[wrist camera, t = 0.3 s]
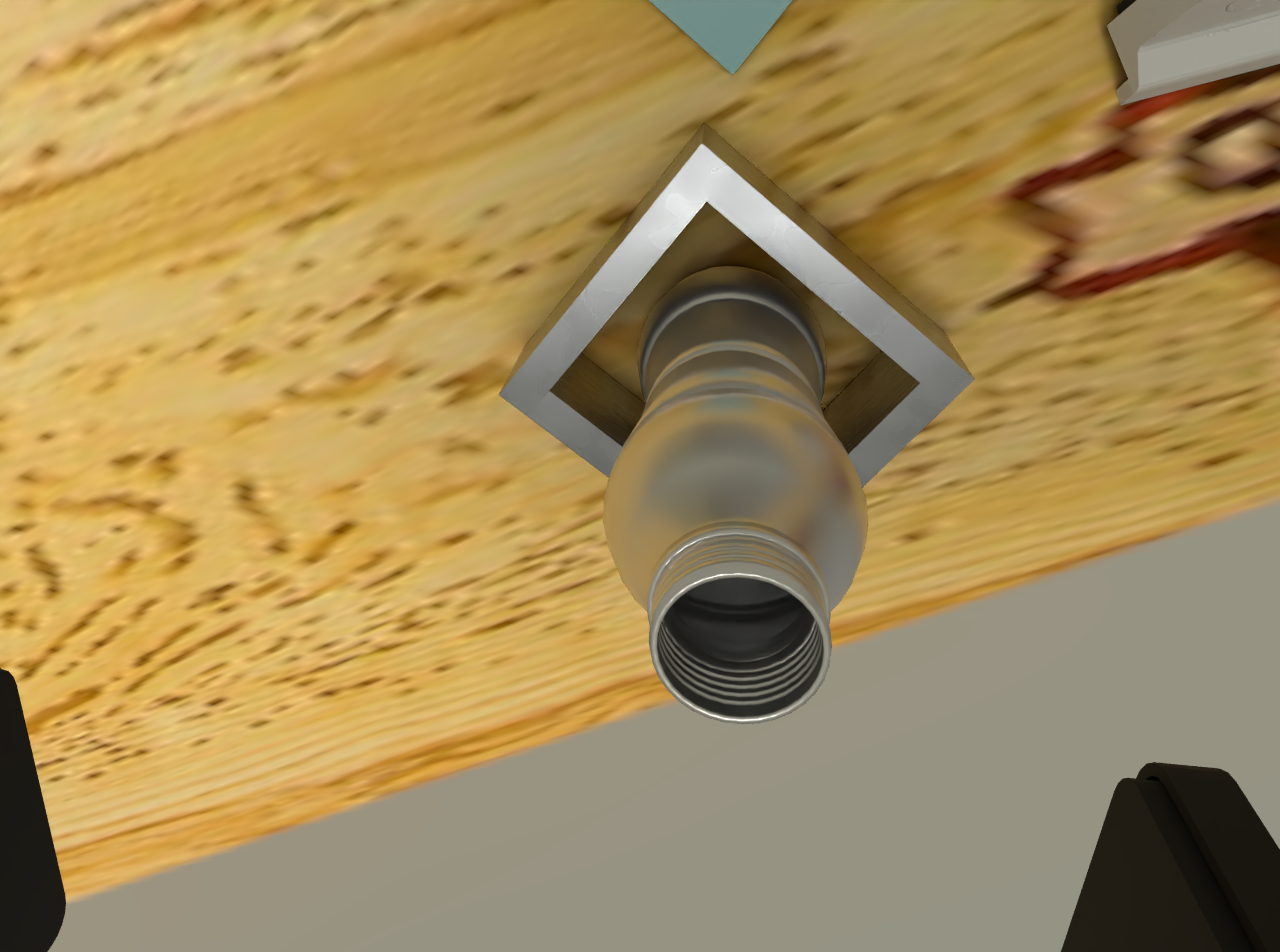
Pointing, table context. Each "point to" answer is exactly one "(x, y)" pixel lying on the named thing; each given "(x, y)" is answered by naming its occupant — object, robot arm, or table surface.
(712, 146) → the square socket
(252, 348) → the table surface
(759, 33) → the board
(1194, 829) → the robot arm
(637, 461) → the plastic bottle
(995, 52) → the table surface
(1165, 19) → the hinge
